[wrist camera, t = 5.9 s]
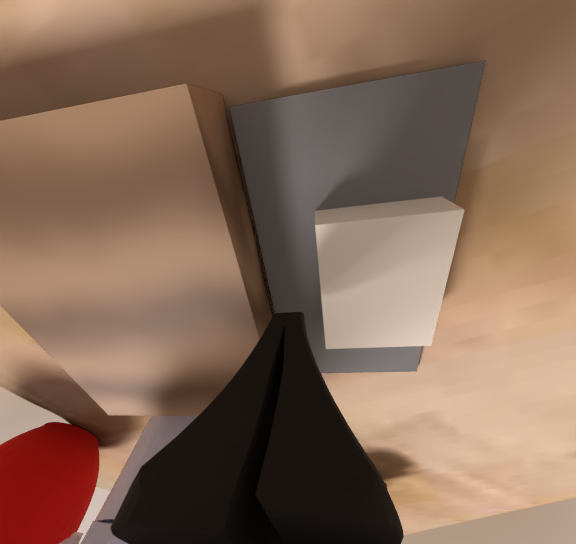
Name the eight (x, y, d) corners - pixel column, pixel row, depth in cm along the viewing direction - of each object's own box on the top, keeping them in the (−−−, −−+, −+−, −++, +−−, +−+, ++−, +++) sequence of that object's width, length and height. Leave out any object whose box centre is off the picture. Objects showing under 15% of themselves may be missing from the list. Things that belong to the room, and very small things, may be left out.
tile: (325, 349, 15) (324, 325, 16) (431, 345, 14) (417, 321, 15) (314, 225, 10) (314, 210, 12) (464, 209, 10) (441, 196, 11)
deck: (285, 373, 20) (281, 416, 17) (135, 375, 22) (108, 415, 19) (222, 94, 10) (186, 83, 7) (-40, 144, 12) (-151, 151, 9)
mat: (414, 366, 18) (416, 371, 18) (288, 369, 20) (288, 373, 19) (478, 62, 9) (485, 60, 9) (231, 107, 10) (229, 106, 10)
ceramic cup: (33, 454, 35) (-55, 560, 26) (2, 395, 26) (-145, 526, 18) (124, 474, 36) (68, 581, 28) (124, 425, 28) (42, 559, 19)
